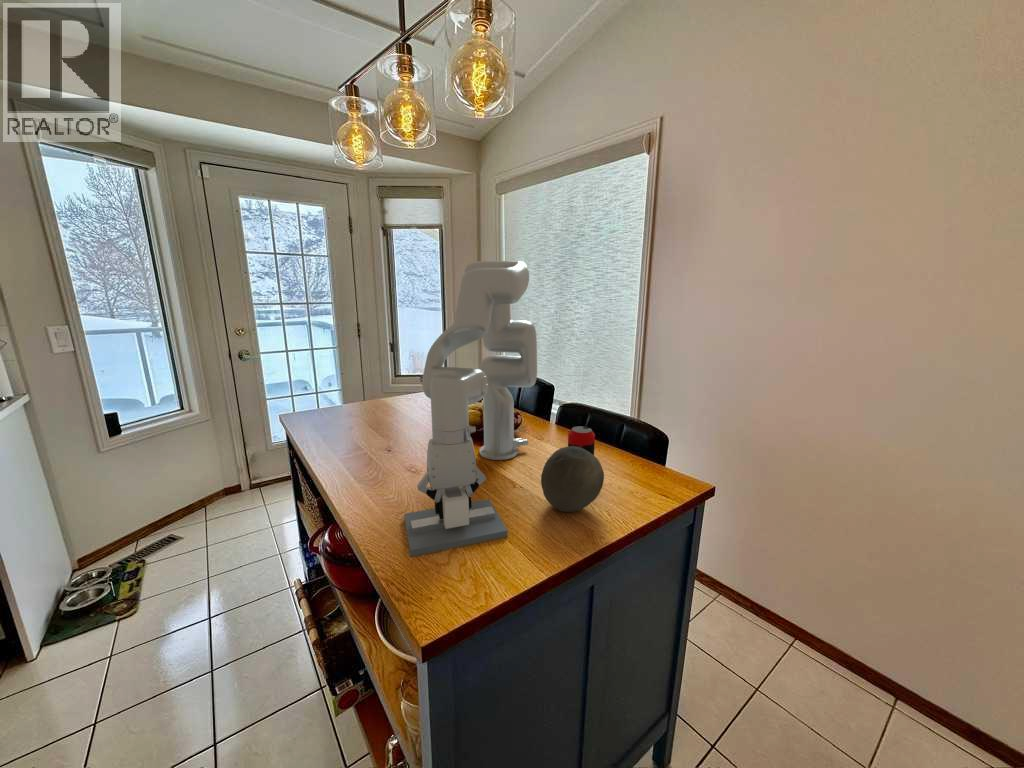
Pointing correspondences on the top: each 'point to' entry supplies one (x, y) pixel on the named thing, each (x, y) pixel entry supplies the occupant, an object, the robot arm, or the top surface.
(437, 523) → the steel rail
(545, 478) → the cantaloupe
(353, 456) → the top surface
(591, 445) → the soda can
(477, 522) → the board
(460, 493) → the module
